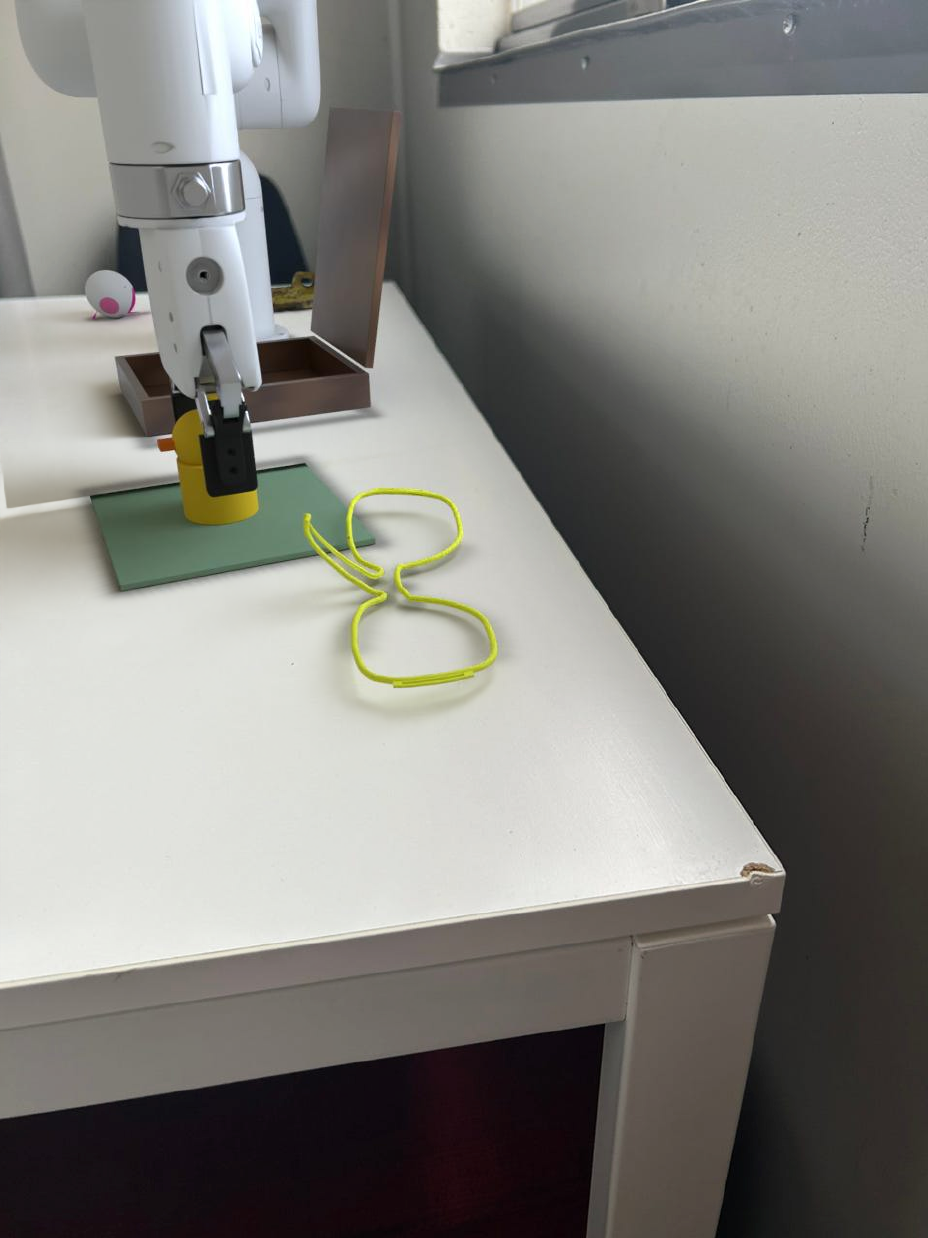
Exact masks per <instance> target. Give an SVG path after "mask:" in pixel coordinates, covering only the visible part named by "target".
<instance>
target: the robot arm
mask: <svg viewBox="0 0 928 1238" xmlns="http://www.w3.org/2000/svg"><path fill="white" fill-rule="evenodd" d="M14 8H15V17H16V24H17V29H18V34H19V38H20V41H21V45H22V48H23V51H24V54H25V56H26V59H27V60H28V63H29V65H30V67H31V69H32V70H33V72H34V73H35V74H36V76H37V78H39V80H40V81H42V82H43V83H44V85H46V86H47V87H49V88H50V89H51V90H53V91H55V92H57V93H59V94H62V95H65V96H68V97H73V98H93V99H94V98H97V103H98V109H99V116H100V122H101V127H102V134H103V140H104V147H105V152H106V157H107V162H108V171H109V176H110V182H111V183H110V184H111V189H112V195H113V201H114V206H115V212H116V217H117V225H119V226H121V227H124V228H126V227H127V228H131V229H138V234H139V240H140V248H141V254H142V255H141V256H142V261H143V268H144V276H145V282H146V288H147V294H148V301H149V306H150V307H149V308H150V313H151V319H152V324H153V330H154V334H155V340H156V344H157V350H158V352H159V354H160V358H161V361H162V364H163V367H164V369H165V371H166V372H167V374H168V375H169V376H170V383H171V388H172V391H173V393H178V392H181V393H180V394H172V395H171V401H172V408H173V414H174V421H175V424H176V422H177V421H178V419H179V418H180V417H181V416H183V415H184V414H185V413H187V412H189V411H192V410H195V409H198V413H199V417H200V421H201V425H202V429H203V433H204V434H201V435H199V442H200V449H201V456H202V463H203V471H204V478H205V485H206V491H207V493H208V494H209V496H211V497H220V496H227V495H233V494H239V493H245V492H251V491H255V490H256V489H257V487H258V480H257V472H256V470H257V463H256V456H255V455H256V454H255V447H254V439H253V430H252V427H251V425H252V424H250V420H249V416H248V412H247V405H246V402H245V400H244V396H243V393H242V384H243V385H244V386H245V387H246V388H247V389H249V390H250V391H251V392H253V391H257V390H258V388H259V387H260V385H261V383H262V379H261V371H260V364H259V358H258V351H257V344H256V342H259V341H268V340H278V339H288V338H290V331H289V329H288V328H286V327H285V326H282V325H280V324H275V315H274V311H273V304H272V293H271V288H272V283H271V275H270V273H271V272H270V263H269V255H268V254H269V253H268V244H267V233H266V223H265V213H264V212H265V211H264V202H263V192H262V184H261V179H260V176H259V172H258V171H257V168H256V166H255V165H254V163H253V162H252V160H251V159H250V158H249V157H248V155H247V154H246V153H245V152H244V151H243V150H242V149H241V148H240V142H239V132H238V131H243V130H282V129H298V128H303V127H306V126H308V125H310V124H311V123H312V122H314V121H315V119H316V118H317V115H318V113H319V111H320V110H319V109H320V104H321V89H322V88H321V86H322V85H321V63H320V46H319V44H320V43H319V26H318V7H317V0H14ZM262 18H264V19H266V20H268V23H262V21H261V19H262ZM213 382H215V383H214V384H213ZM210 410H211V413H212V414H211V413H210Z"/></svg>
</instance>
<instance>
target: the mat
mask: <svg viewBox="0 0 928 1238" xmlns="http://www.w3.org/2000/svg"><path fill="white" fill-rule="evenodd" d="M256 472H257V480H258V487H257V497H258V506H259V509H258V511H257V513H256V514H254V515H253V516H251V517H250V518H248V519H245V520H242V521H239V522H235V523H230V524H222V525H205V524H198V523H195V522H192V521H190V520H188V519H187V518H186V516H185V513H184V506H183V500H182V493H181V487H180V481H178V482H177V481H176V482H170V483H164V484H163V483H162V484H156V485H150V486H144V487H138V488H137V487H136V488H130V489H123V490H117V491H110V492H105V493H97V494H91V495H89V498H90V499H89V500H90V501H91V504H92V507H93V510H94V514H95V516H96V520H97V522H98V526H99V529H100V532H101V535H102V537H103V540H104V544H105V547H106V551H107V553H108V556H109V559H110V563H111V566H112V569H113V571H114V574H115V577H116V580H117V583H118V586H119V589H120V591H121V592H124V591H130V590H135V589H140V588H145V587H150V586H157V585H161V584H167V583H172V582H178V581H181V580H182V581H183V580H188V579H193V578H198V577H204V576H209V575H215V574H220V573H226V572H230V571H236V570H241V569H247V568H252V567H257V566H261V565H262V566H263V565H268V564H273V563H278V562H284V561H288V560H289V561H290V560H293V559H295V560H296V559H301V558H305V557H311V556H315V555H319V554H318V553H317V552H316V550H315V549H314V548H313V547H312V545H311V544H310V542H309V541H308V539H307V538H306V536H305V534H304V528H303V521H304V517H303V515H304V514H305V513H308V514H310V515H311V520H310V523H311V525H312V526H313V528H314V529H315V530H316V531H317V533H318V534H319V535H320V536H321V537H322V538H323V539H324V540H325V541H326V542H327V543H328V544H330V545H331V546H332V547H333V548H335V549H336V550H337V551H338V552H339V551H343V550H348V549H349V550H350V548H349V545H348V540H347V532H346V517H347V512H348V508H349V507H347V506H346V505H345V504H344V502H342V501H341V500H340V498H339V497H338V496H337V495H336V494H335V493H334V492H333V491H332V490H331V489H330V487H328V486H327V484H325V483H324V482H323V480H322V479H321V478H320V477H319V476H318V475H317V474H316V473H315V472H314V470H312V469H311V468H310V467H309V466H308V464H307V463H306V462H301V463H295V464H288V465H281V466H275V467H267V468H263V469H256ZM351 524H352V537H353V542H354V545H355V547H356V548H358V547H364V546H370V545H374V544H376V543H377V542H376V537H375V536H374V535H373V534H372V533H371V531H369V530H368V529H367V527H365V525H364V524H363V523H362V522H361V521H360V520H359V519H358V518H357V517H356V515H354V513H352V519H351ZM309 531H310V533H311V535H312V537H313V540H314V541H315V542H316V544H317V545H318V546H319V547H320V548H321V549H322V550H323V551H324V552H325V553H326V554H327V553H332V552H331V551H329V550H328V549H327V548H326V547H325V546H324V545H323V544H322V543H321V542H320V541H319V540H318V539H317V538H316V537H315V535H314V534H313V533H312V532H311V530H310V529H309Z"/></svg>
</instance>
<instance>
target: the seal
mask: <svg viewBox="0 0 928 1238" xmlns="http://www.w3.org/2000/svg"><path fill="white" fill-rule="evenodd" d="M303 279H308V280H309V279H310V280H312V281H313V282H312V283H311V284H310V285H304V283H302V280H303ZM290 281H291V282H290V284H291V285H290V286H289V285H288V286H280V287H271V293H272V304H273V312H278V311H279V312H280V311H281V312H282V311H295V310H308V309H312V307H313V295H314V283H315V271H301V270H299V271H296V272H295V273H294V274H293V276H292V278H291V280H290Z"/></svg>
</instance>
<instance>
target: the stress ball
mask: <svg viewBox="0 0 928 1238" xmlns="http://www.w3.org/2000/svg"><path fill="white" fill-rule="evenodd" d="M84 293H85V298H86V300H87V302H88V304H89V305H90V306H91V308H93V310H95V311H96V312H95V313H94V314H93V316H92V320H95V319H96V316H97V313H99V314H100V315H102V316H103V317H108V318H112V319H114V318H115V319H117V318H118V319H119V318H123V317H125V316H127V315H129V314H138V313H139V311H133V309H134V307H135V305H136V292H135V289H134V286H133V285H132V283H131V282H130V281H129V280H128V279H127V277H125V276H124V275H122V274H121V273H119V272H117V271H114V270H111V269H102V270H98V271H95V272H93V273H92V274H91V275H89V276H88V278H87V280H86V282H85V285H84Z"/></svg>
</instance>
